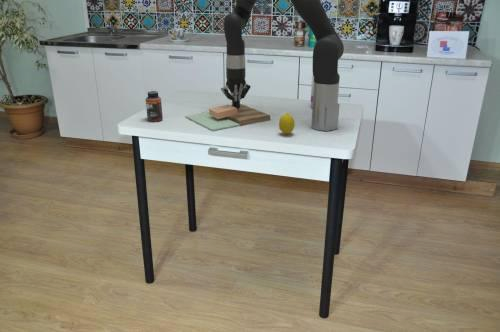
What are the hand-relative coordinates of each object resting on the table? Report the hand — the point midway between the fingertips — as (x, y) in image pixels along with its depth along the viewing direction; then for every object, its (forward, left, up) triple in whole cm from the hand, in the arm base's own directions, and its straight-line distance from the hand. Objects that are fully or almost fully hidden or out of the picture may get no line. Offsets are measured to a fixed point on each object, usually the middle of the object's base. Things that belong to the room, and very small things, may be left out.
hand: (236, 109), depth 190 cm
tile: (0, +6, -1) cm, 6 cm away
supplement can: (-8, -38, -3) cm, 39 cm away
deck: (0, -2, -3) cm, 4 cm away
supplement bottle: (+14, +29, -3) cm, 32 cm away
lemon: (-29, -3, -3) cm, 30 cm away
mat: (0, +12, -3) cm, 12 cm away
